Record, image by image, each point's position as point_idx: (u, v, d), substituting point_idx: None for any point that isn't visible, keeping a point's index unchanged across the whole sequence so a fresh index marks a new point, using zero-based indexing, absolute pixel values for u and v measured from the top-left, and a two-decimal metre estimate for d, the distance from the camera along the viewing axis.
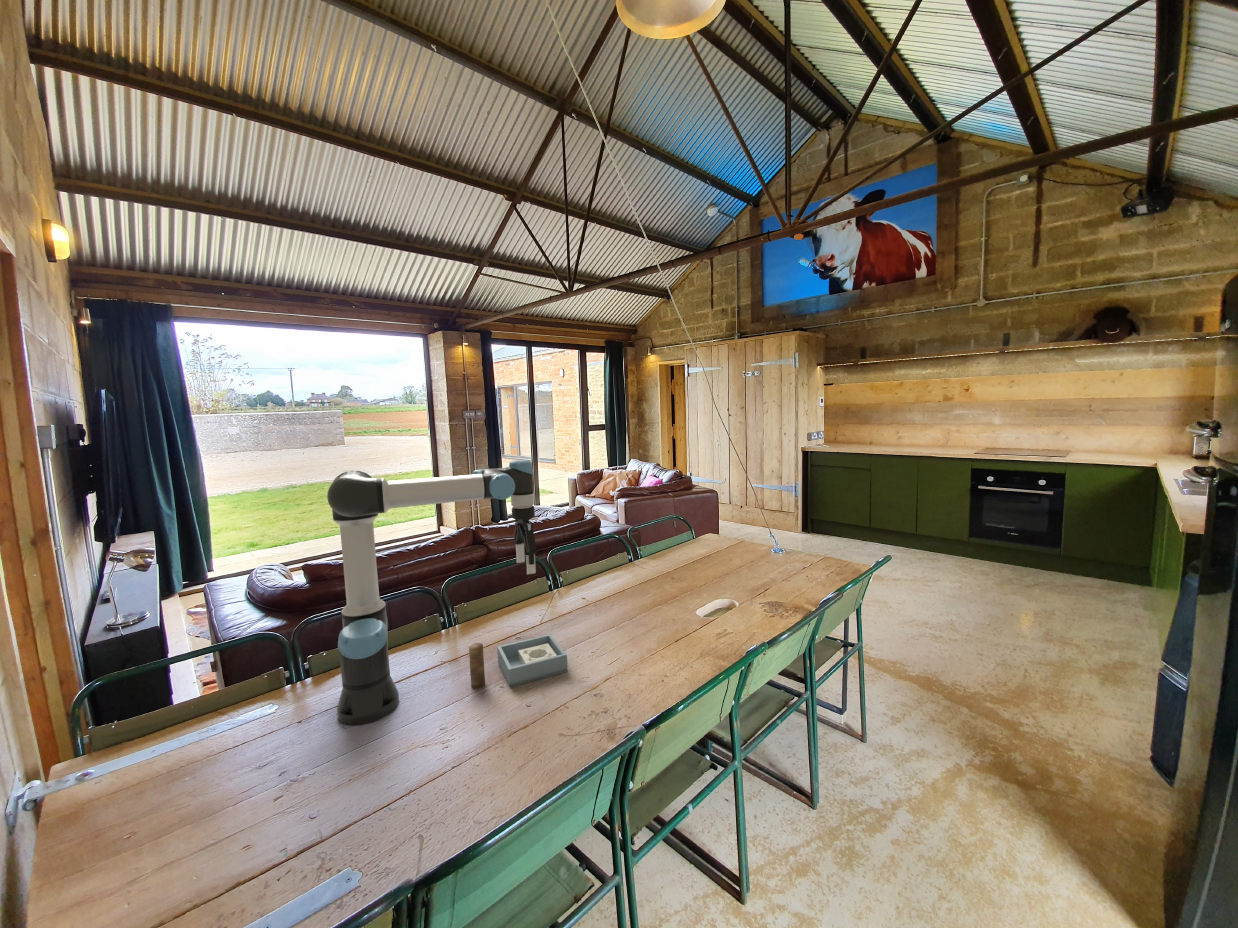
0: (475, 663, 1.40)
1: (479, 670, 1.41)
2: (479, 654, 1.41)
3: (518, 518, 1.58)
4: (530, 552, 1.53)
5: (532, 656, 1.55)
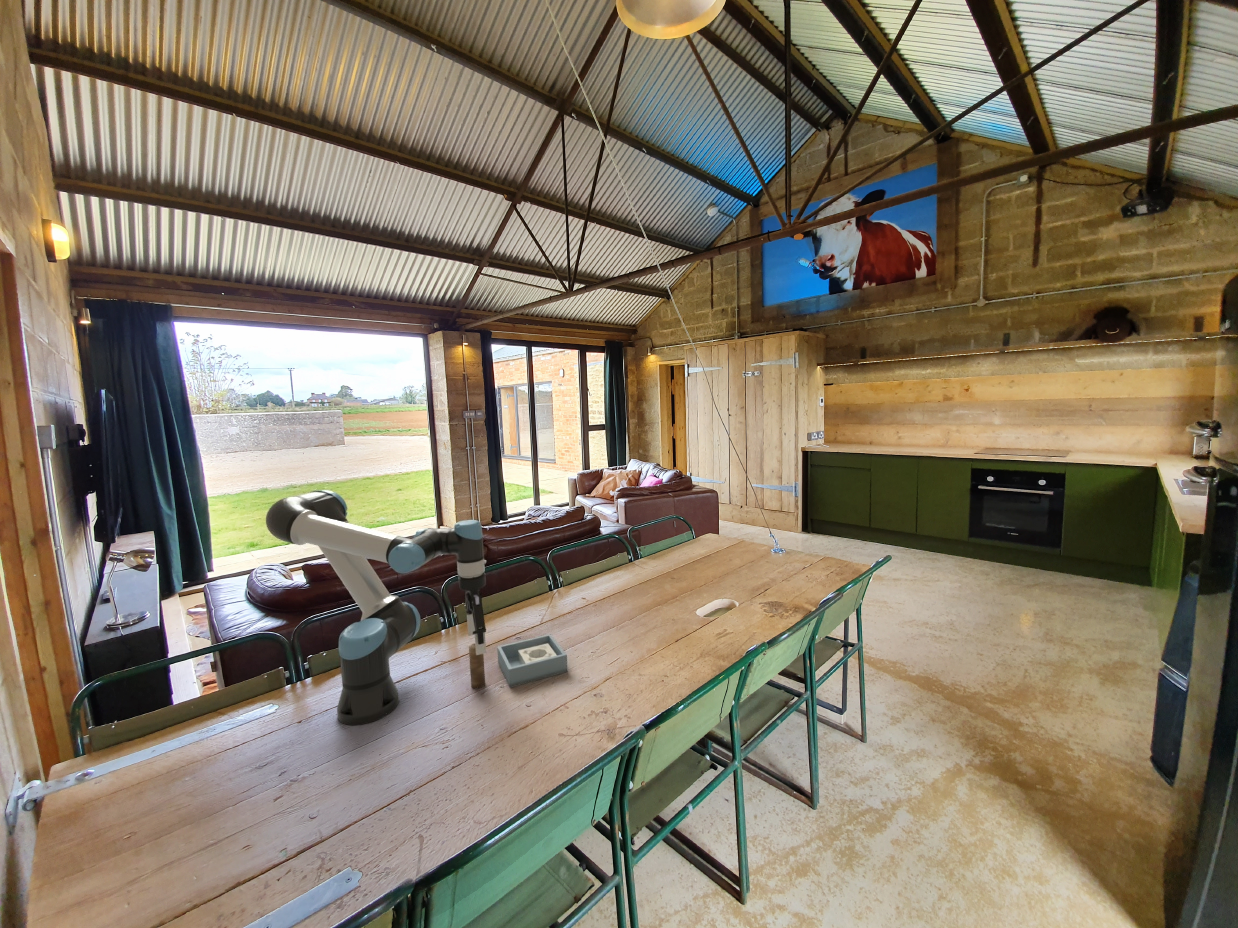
0: (475, 663, 1.40)
1: (479, 670, 1.41)
2: None
3: (465, 589, 1.36)
4: (478, 631, 1.31)
5: (532, 656, 1.55)
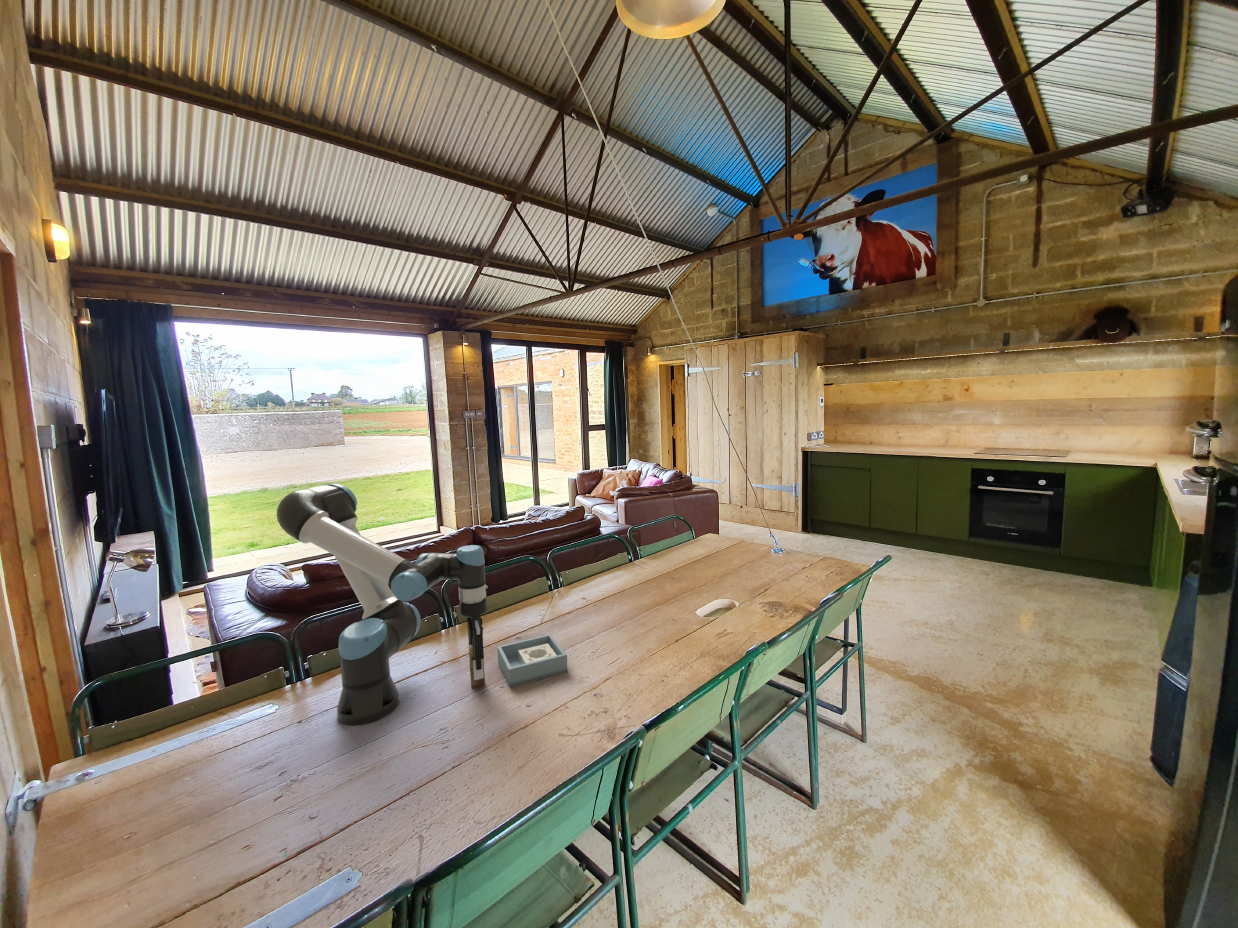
0: None
1: None
2: None
3: (466, 615, 1.37)
4: (476, 658, 1.37)
5: (532, 656, 1.55)
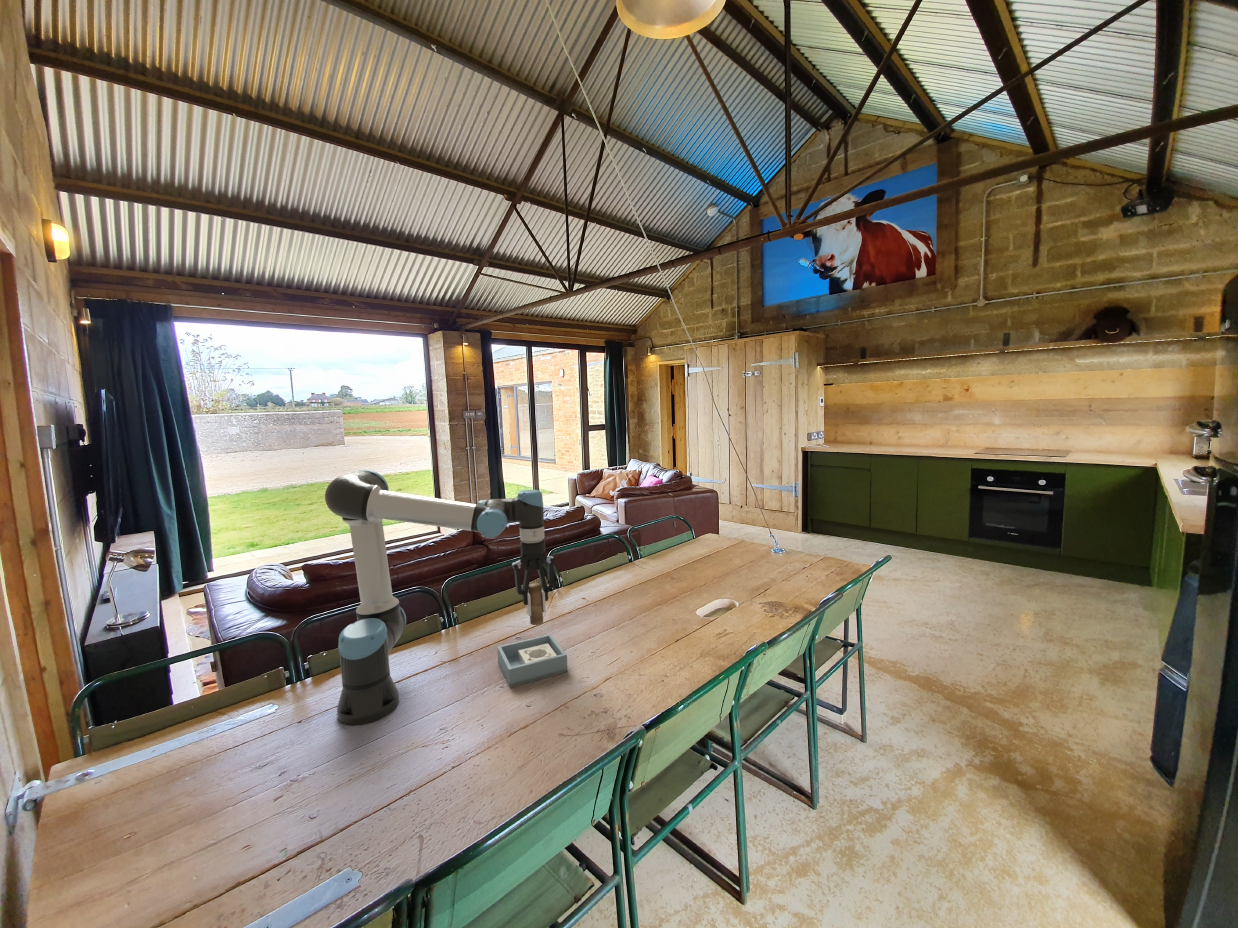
0: None
1: None
2: (529, 593, 1.49)
3: None
4: (516, 590, 1.49)
5: (532, 656, 1.55)
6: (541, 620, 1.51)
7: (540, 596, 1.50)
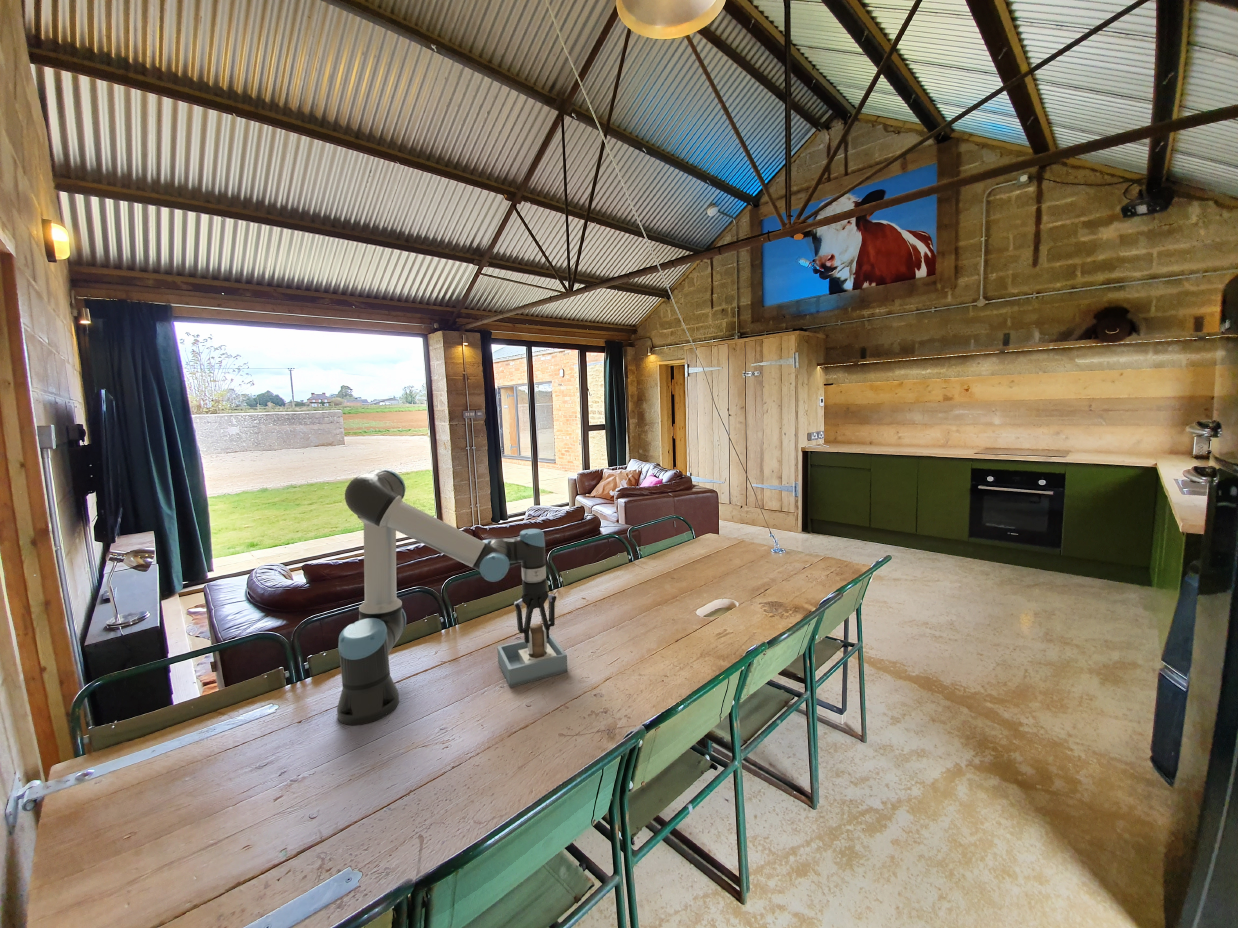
0: None
1: None
2: None
3: None
4: (518, 628, 1.50)
5: None
6: None
7: (541, 637, 1.51)
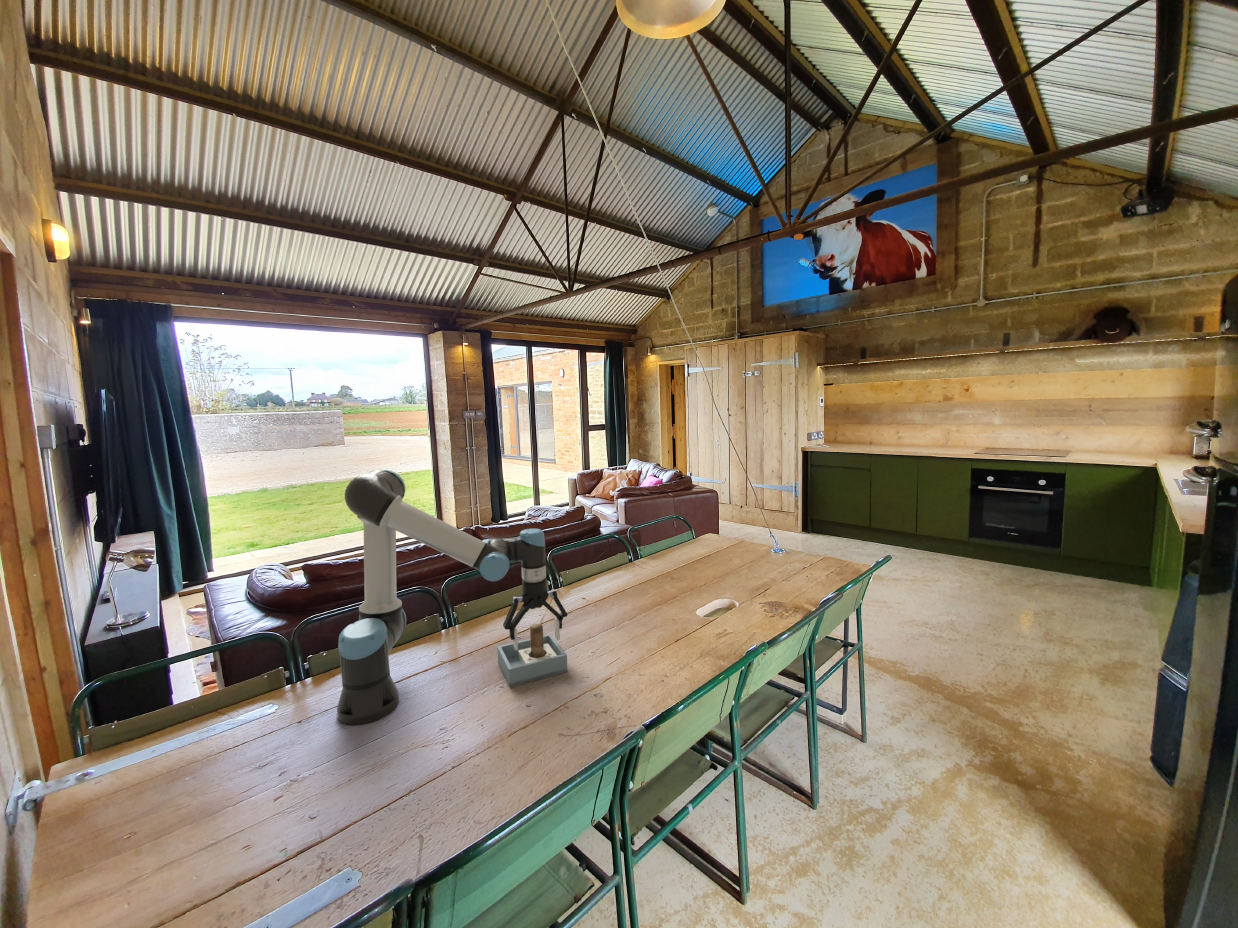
0: None
1: (531, 648, 1.51)
2: (531, 634, 1.51)
3: None
4: (503, 625, 1.48)
5: None
6: None
7: (541, 637, 1.51)
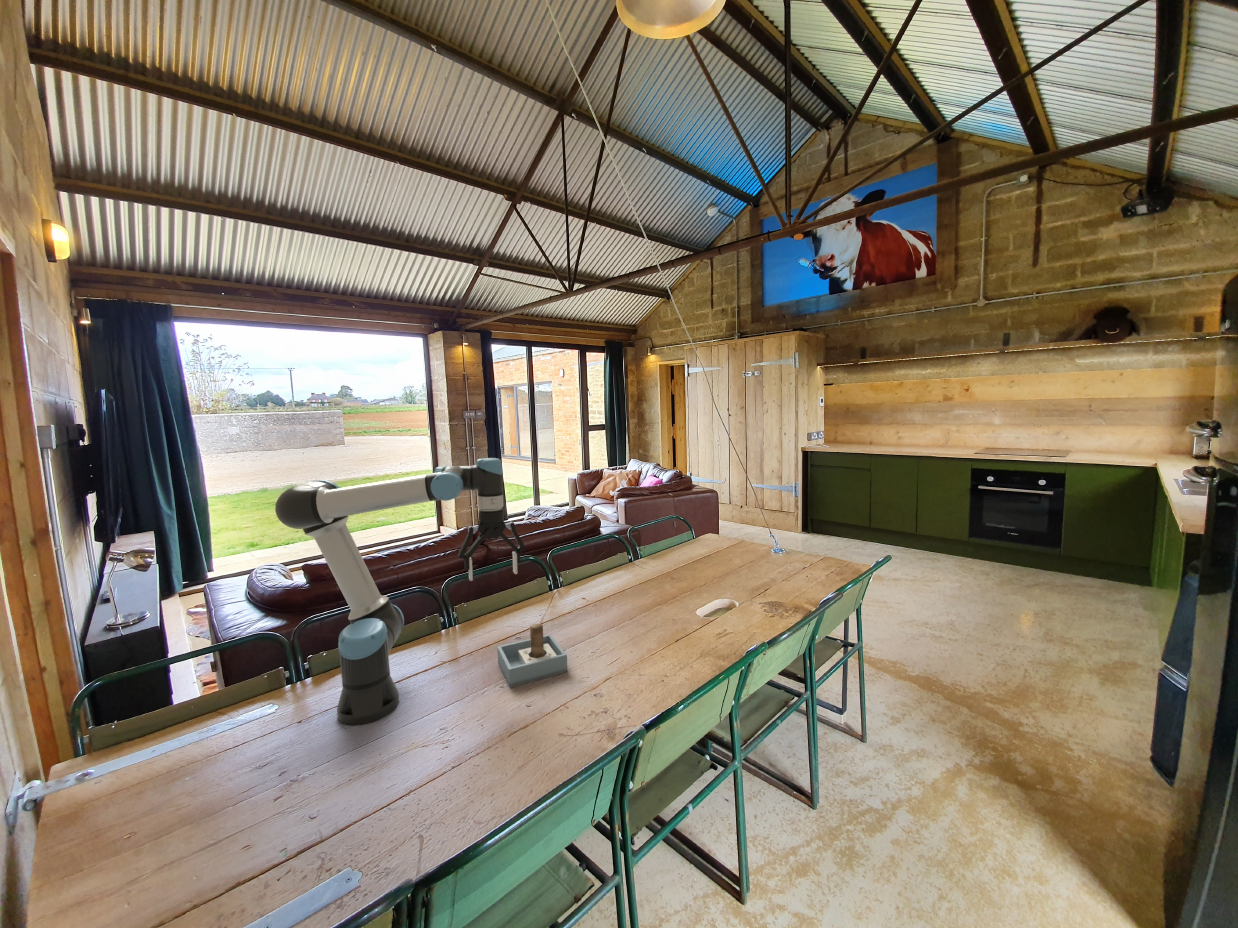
0: None
1: (531, 648, 1.51)
2: (531, 634, 1.51)
3: None
4: (458, 554, 1.45)
5: None
6: None
7: (541, 637, 1.51)
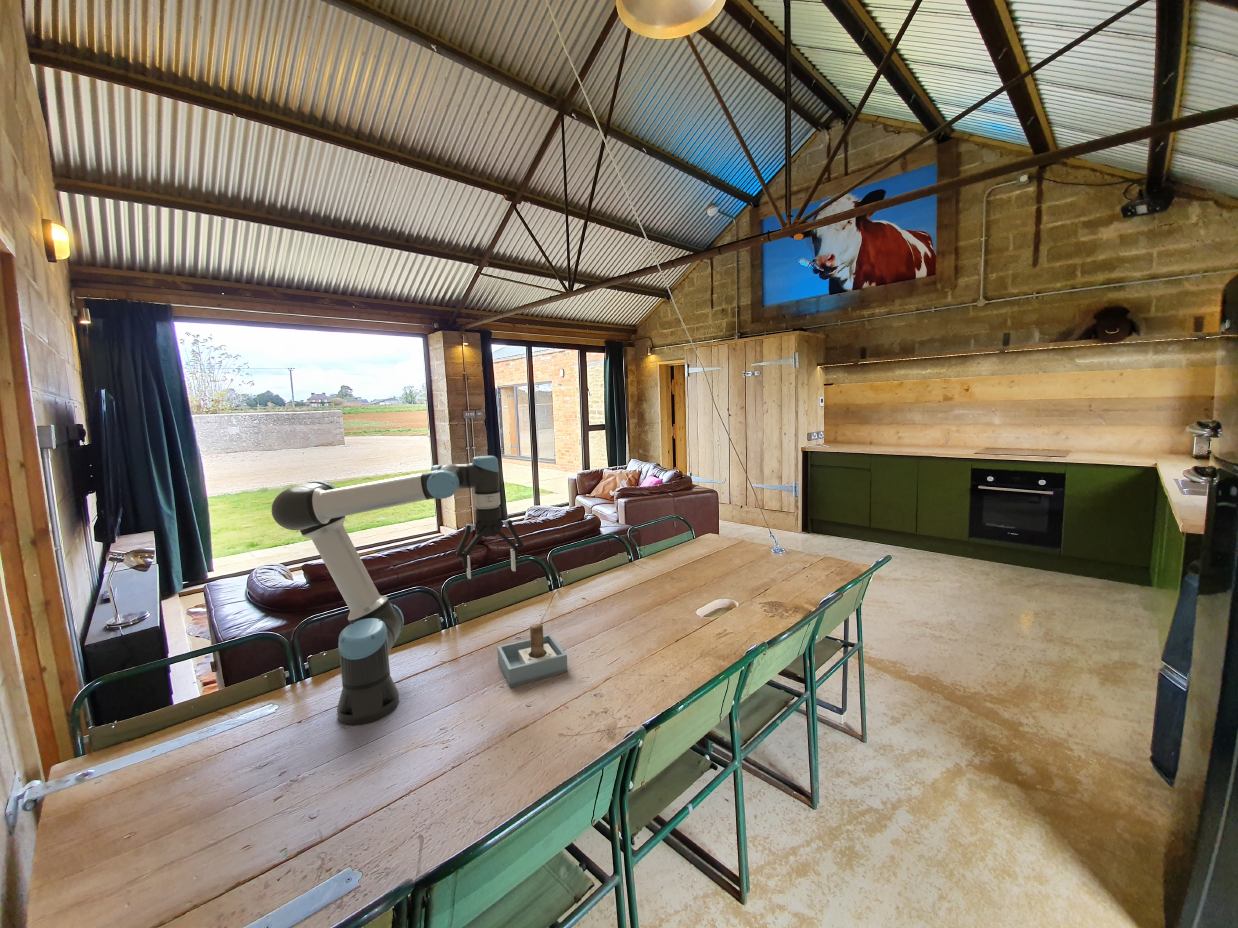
0: None
1: (531, 648, 1.51)
2: (531, 634, 1.50)
3: None
4: (456, 552, 1.45)
5: None
6: None
7: (541, 637, 1.51)
